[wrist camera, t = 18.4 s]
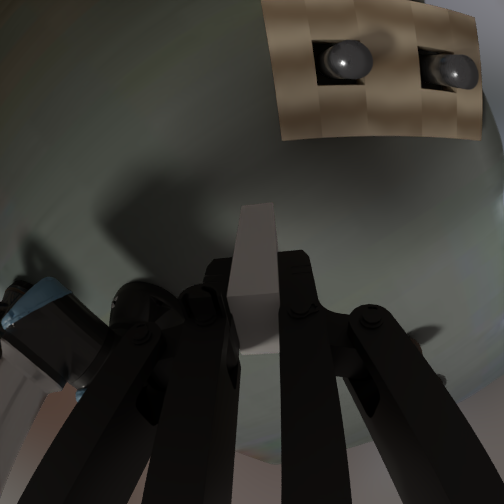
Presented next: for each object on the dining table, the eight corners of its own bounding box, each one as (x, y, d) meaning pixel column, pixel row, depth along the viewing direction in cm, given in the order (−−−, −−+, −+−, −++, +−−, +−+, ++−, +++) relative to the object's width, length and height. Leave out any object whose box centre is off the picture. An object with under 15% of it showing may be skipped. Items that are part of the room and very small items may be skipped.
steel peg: (437, 84, 29) (479, 92, 21) (412, 81, 30) (452, 87, 21) (435, 57, 27) (477, 58, 19) (410, 53, 27) (450, 51, 19)
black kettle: (45, 333, 65) (6, 403, 44) (-2, 284, 57) (-50, 349, 36) (68, 317, 59) (21, 400, 38) (14, 259, 51) (-48, 334, 30)
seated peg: (349, 78, 31) (375, 79, 22) (318, 79, 31) (334, 79, 23) (345, 49, 29) (370, 40, 20) (314, 49, 29) (329, 39, 21)
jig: (466, 134, 32) (481, 140, 29) (281, 134, 36) (282, 141, 32) (459, 19, 22) (474, 17, 19) (261, 4, 26) (260, -5, 23)
